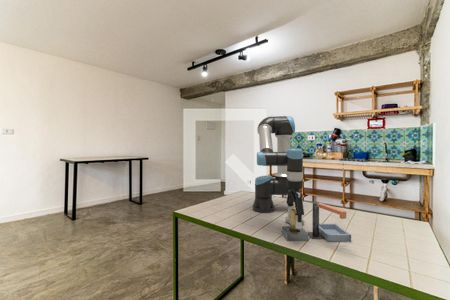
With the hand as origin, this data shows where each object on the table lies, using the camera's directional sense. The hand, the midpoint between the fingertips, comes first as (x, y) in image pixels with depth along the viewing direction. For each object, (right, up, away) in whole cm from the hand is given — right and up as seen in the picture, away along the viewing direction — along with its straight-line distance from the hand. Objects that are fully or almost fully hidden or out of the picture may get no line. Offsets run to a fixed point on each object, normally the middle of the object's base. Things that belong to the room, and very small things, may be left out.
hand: (294, 223), depth 105 cm
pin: (0, -6, 0) cm, 6 cm away
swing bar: (+13, +8, -7) cm, 17 cm away
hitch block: (0, -6, 0) cm, 6 cm away
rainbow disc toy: (+6, -6, +17) cm, 19 cm away
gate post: (+11, -6, 0) cm, 12 cm away
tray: (+19, -6, +1) cm, 20 cm away
